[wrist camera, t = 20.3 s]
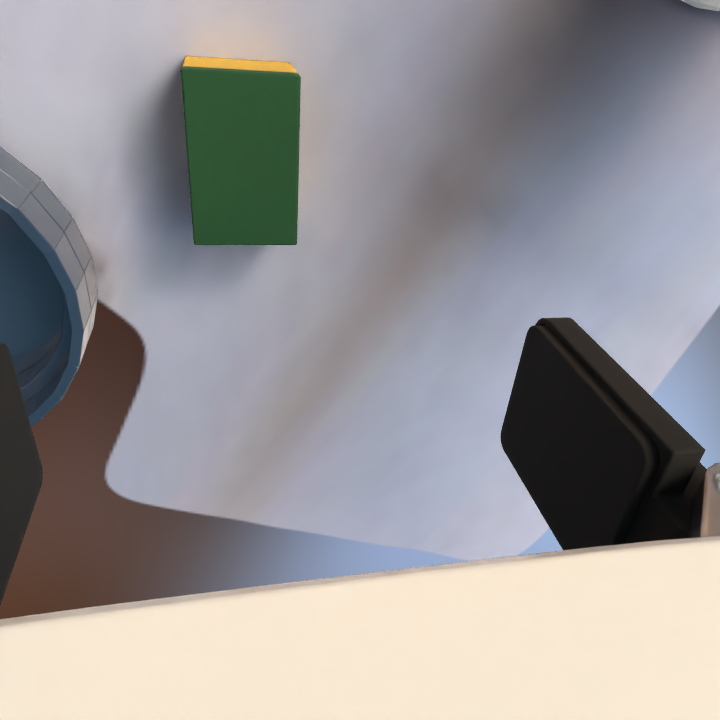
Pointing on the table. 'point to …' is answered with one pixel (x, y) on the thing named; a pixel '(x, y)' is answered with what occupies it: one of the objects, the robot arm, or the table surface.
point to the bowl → (42, 288)
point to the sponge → (242, 150)
